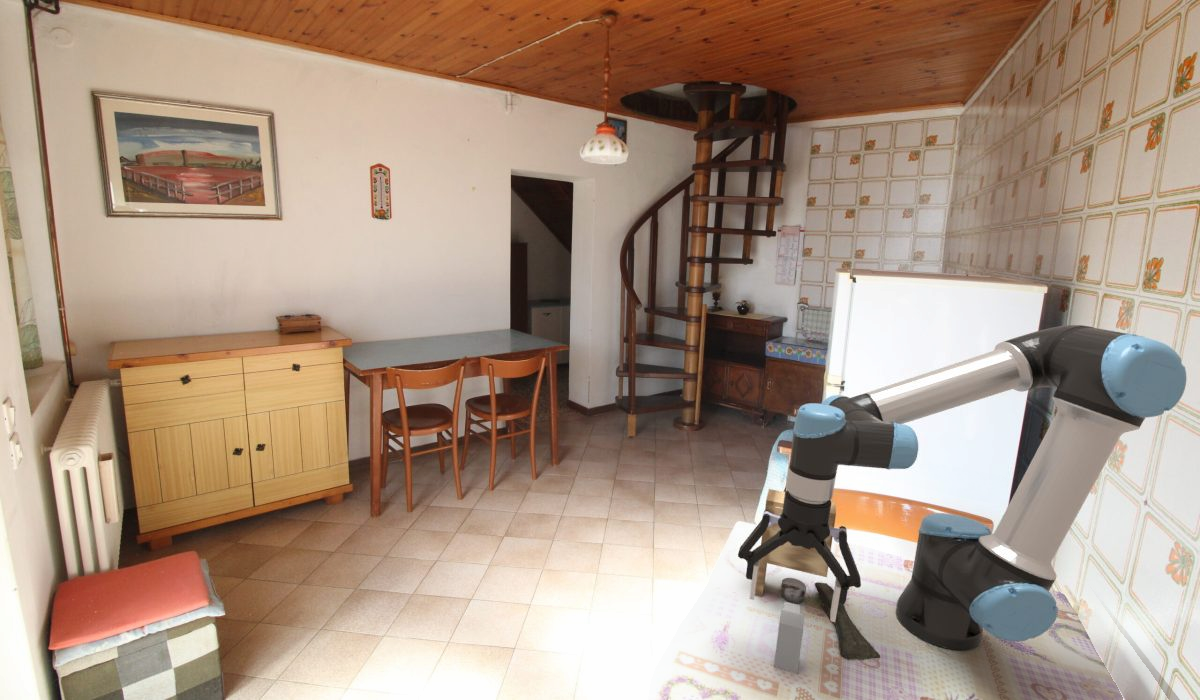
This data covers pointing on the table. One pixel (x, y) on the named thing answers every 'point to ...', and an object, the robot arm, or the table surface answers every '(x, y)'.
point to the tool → (846, 629)
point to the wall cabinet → (790, 546)
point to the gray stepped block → (789, 638)
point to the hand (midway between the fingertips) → (791, 606)
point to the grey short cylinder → (793, 590)
